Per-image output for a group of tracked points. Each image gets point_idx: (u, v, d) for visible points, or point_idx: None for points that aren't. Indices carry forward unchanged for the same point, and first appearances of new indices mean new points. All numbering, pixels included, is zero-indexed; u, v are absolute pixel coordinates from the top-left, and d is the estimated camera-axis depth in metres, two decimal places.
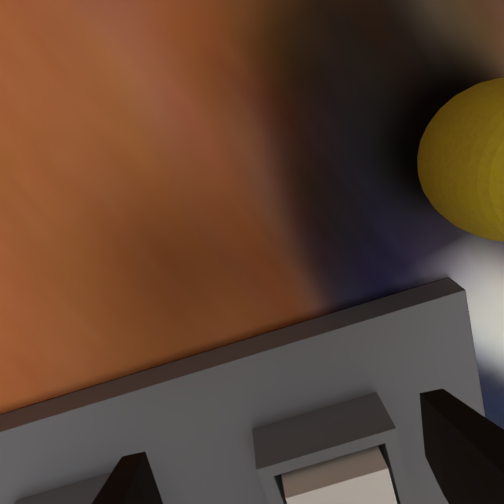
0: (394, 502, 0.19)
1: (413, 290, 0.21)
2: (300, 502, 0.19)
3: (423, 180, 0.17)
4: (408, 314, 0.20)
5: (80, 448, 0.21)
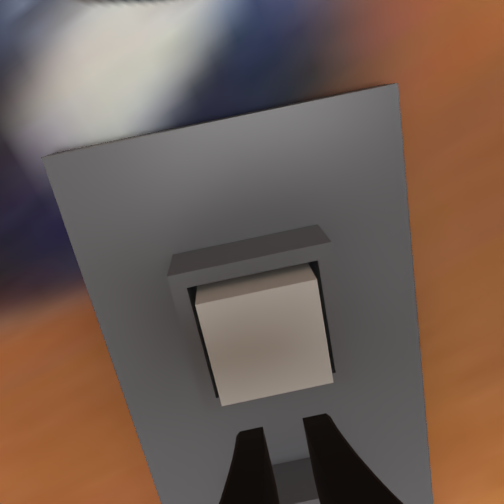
0: (248, 296, 0.16)
1: None
2: (229, 392, 0.17)
3: None
4: (72, 221, 0.18)
5: None
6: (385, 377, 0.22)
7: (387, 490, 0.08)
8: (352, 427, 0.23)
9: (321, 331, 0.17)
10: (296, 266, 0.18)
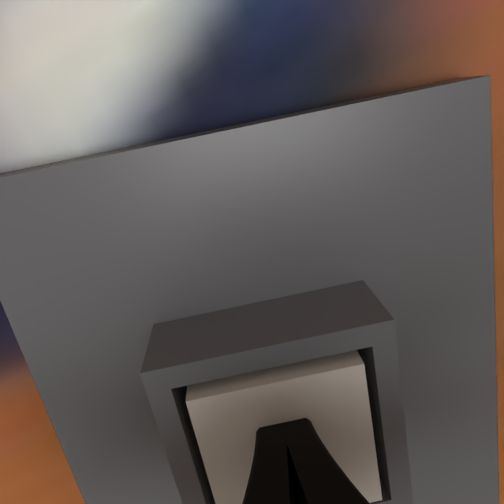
0: (264, 388, 0.11)
1: None
2: None
3: None
4: (5, 279, 0.12)
5: None
6: (447, 480, 0.16)
7: (360, 496, 0.08)
8: None
9: (368, 434, 0.12)
10: None
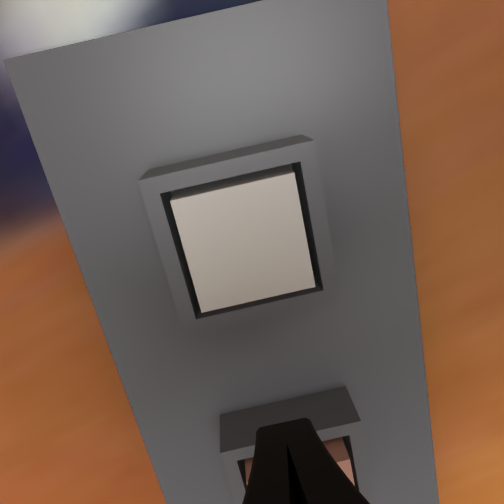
0: (224, 191, 0.16)
1: None
2: (209, 297, 0.17)
3: None
4: (39, 133, 0.17)
5: (194, 457, 0.23)
6: (378, 307, 0.21)
7: (360, 496, 0.08)
8: (345, 363, 0.21)
9: (301, 230, 0.16)
10: (275, 168, 0.17)
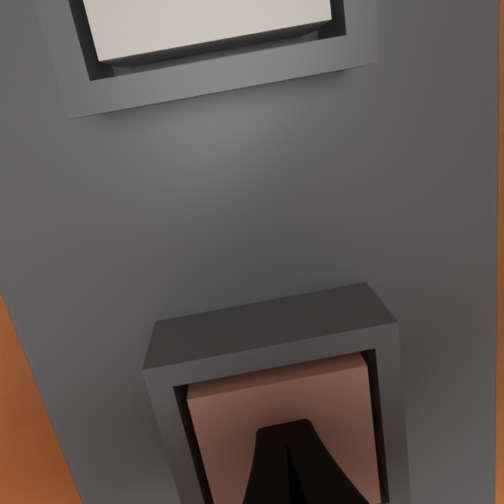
0: None
1: None
2: (113, 24, 0.08)
3: None
4: None
5: (114, 393, 0.14)
6: (431, 137, 0.12)
7: (360, 496, 0.08)
8: (368, 239, 0.13)
9: None
10: None
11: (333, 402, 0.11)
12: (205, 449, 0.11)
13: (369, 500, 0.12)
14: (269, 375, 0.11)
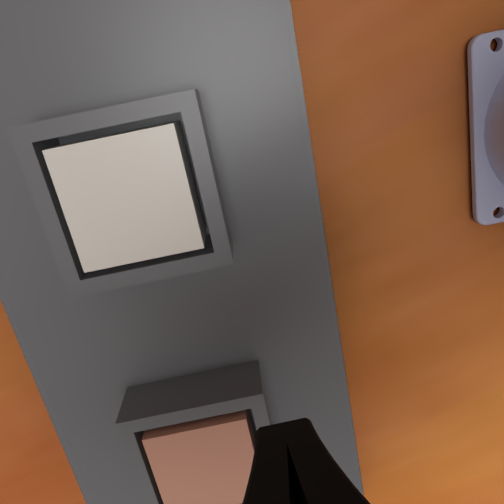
0: (100, 141, 0.15)
1: None
2: (90, 256, 0.16)
3: None
4: None
5: (103, 431, 0.22)
6: (289, 277, 0.20)
7: (360, 496, 0.08)
8: (256, 335, 0.21)
9: (184, 186, 0.16)
10: (165, 123, 0.16)
11: (228, 440, 0.19)
12: (154, 468, 0.19)
13: None
14: (190, 424, 0.19)
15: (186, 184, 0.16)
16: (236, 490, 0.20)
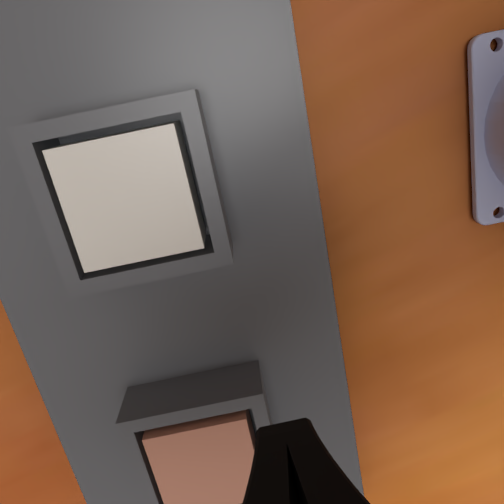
0: (100, 141, 0.15)
1: None
2: (91, 256, 0.16)
3: None
4: None
5: (103, 431, 0.22)
6: (289, 277, 0.20)
7: (360, 496, 0.08)
8: (257, 335, 0.21)
9: (184, 186, 0.16)
10: (165, 123, 0.16)
11: (228, 440, 0.19)
12: (154, 468, 0.19)
13: None
14: (190, 424, 0.19)
15: (186, 184, 0.16)
16: (237, 490, 0.20)
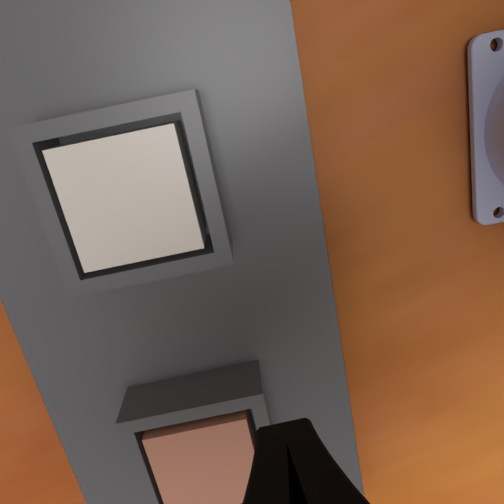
0: (100, 141, 0.15)
1: None
2: (91, 256, 0.16)
3: None
4: None
5: (103, 431, 0.22)
6: (289, 277, 0.20)
7: (360, 496, 0.08)
8: (257, 335, 0.21)
9: (184, 186, 0.16)
10: (165, 123, 0.16)
11: (228, 440, 0.19)
12: (154, 468, 0.19)
13: None
14: (190, 424, 0.19)
15: (186, 184, 0.16)
16: (237, 490, 0.20)
